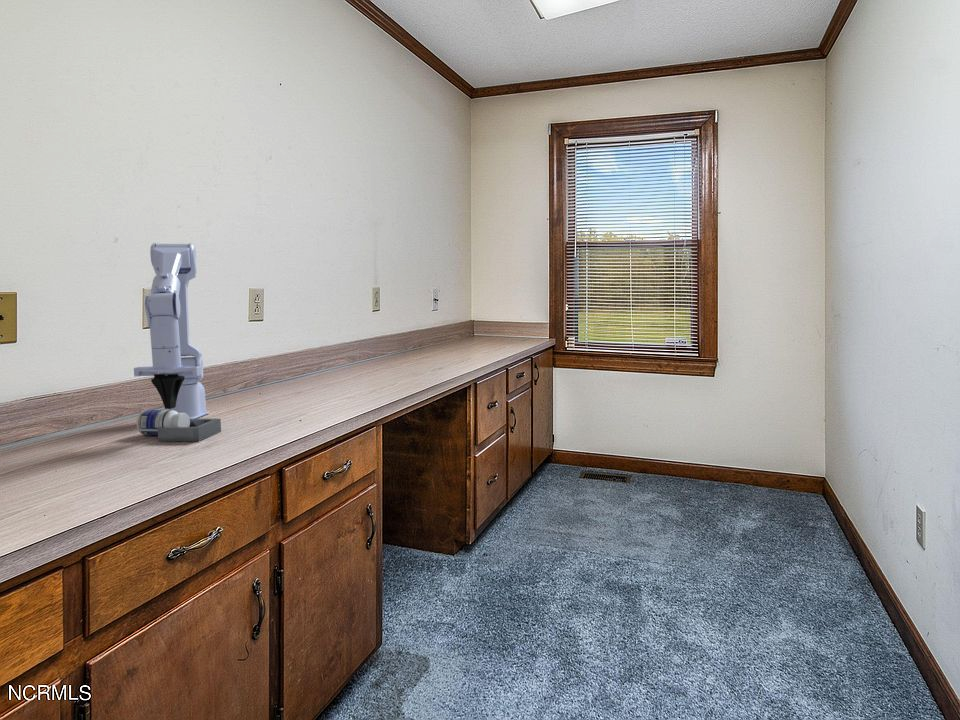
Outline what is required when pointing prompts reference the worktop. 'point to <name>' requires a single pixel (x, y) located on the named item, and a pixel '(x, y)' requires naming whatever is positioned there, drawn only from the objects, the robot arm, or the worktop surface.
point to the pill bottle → (160, 420)
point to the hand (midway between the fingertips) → (170, 408)
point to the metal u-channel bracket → (191, 431)
